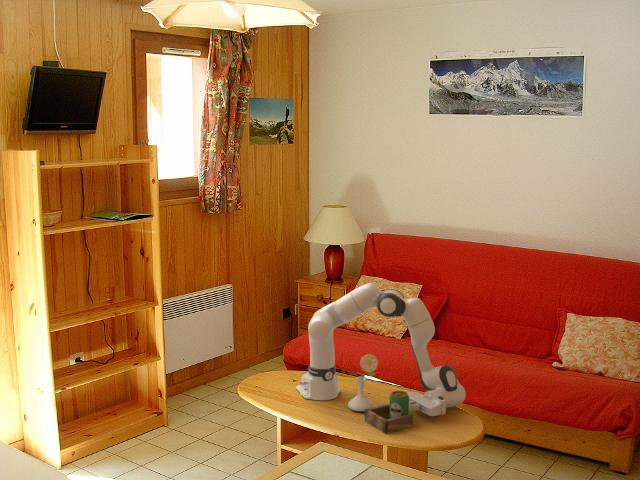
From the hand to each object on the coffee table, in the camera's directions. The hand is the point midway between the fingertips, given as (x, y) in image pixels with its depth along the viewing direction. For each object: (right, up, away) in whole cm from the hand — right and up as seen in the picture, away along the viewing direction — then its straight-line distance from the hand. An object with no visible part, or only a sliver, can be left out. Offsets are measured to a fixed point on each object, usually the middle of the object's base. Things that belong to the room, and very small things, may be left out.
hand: (406, 406), depth 319 cm
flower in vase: (-18, -4, +12) cm, 22 cm away
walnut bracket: (-8, -6, -4) cm, 11 cm away
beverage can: (-3, -6, -1) cm, 7 cm away
